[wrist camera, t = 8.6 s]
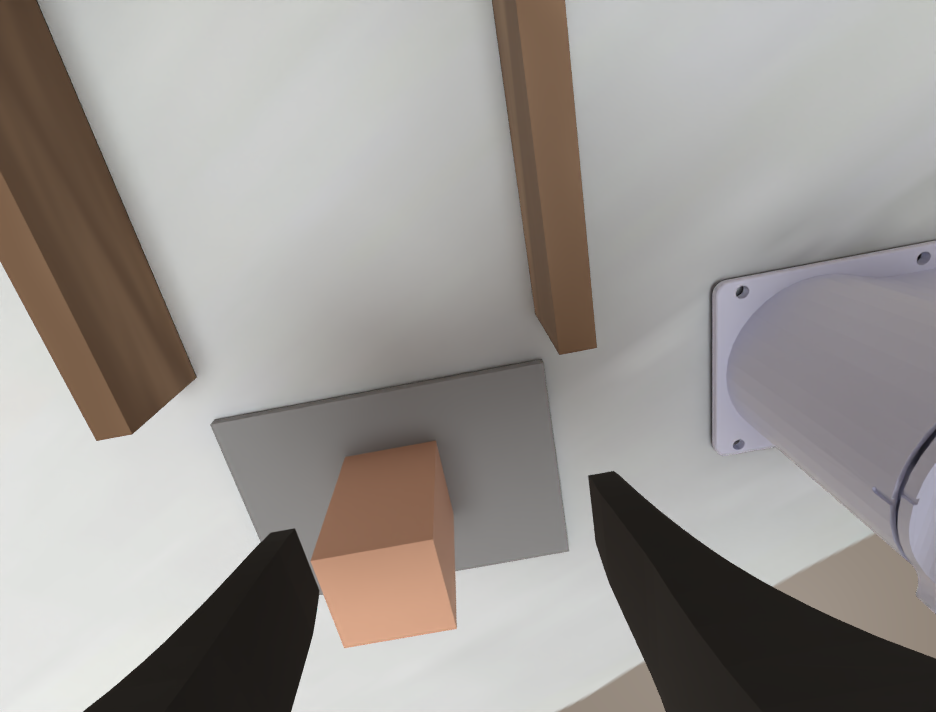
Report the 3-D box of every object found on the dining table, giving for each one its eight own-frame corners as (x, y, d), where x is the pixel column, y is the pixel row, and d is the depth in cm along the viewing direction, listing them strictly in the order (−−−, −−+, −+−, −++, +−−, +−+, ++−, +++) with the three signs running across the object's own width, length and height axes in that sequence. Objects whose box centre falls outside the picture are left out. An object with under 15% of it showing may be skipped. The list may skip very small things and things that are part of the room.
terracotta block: (436, 440, 21) (433, 539, 16) (453, 514, 23) (456, 628, 17) (345, 457, 22) (310, 560, 16) (368, 529, 23) (344, 647, 17)
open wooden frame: (507, -193, 14) (533, -339, 10) (564, 308, 20) (596, 347, 16) (-39, -76, 15) (-231, -169, 11) (168, 382, 20) (96, 440, 16)
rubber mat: (541, 359, 21) (543, 363, 20) (567, 545, 24) (569, 551, 24) (214, 419, 21) (210, 424, 21) (288, 594, 25) (286, 600, 24)
